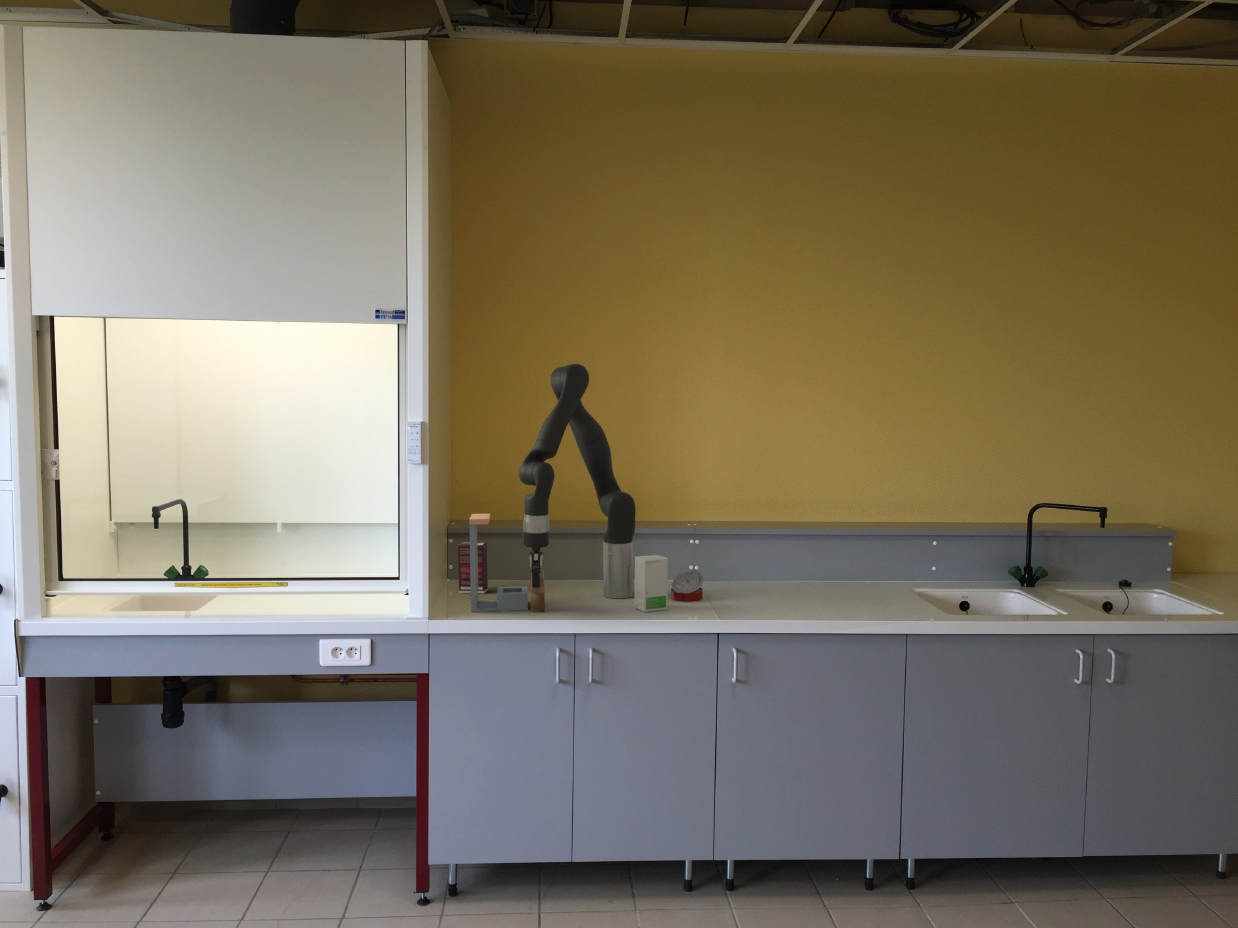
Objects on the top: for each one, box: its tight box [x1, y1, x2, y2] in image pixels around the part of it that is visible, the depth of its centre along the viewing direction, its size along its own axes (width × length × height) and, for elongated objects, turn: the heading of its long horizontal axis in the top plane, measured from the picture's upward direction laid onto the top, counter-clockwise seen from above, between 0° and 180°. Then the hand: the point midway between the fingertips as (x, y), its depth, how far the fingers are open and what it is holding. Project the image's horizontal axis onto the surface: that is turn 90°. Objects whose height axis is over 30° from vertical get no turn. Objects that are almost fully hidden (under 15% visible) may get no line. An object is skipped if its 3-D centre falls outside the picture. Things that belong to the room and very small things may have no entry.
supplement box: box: [457, 541, 489, 594], centre depth 265 cm, size 9×5×16 cm, turn 84°
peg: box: [530, 568, 546, 614], centre depth 242 cm, size 4×4×12 cm
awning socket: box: [468, 513, 529, 613], centre depth 246 cm, size 16×11×28 cm, turn 96°
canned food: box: [670, 569, 704, 603], centre depth 257 cm, size 11×10×10 cm
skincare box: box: [634, 554, 669, 613], centre depth 244 cm, size 8×7×16 cm
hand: (535, 584), depth 242 cm, fingers open, 8 cm apart
